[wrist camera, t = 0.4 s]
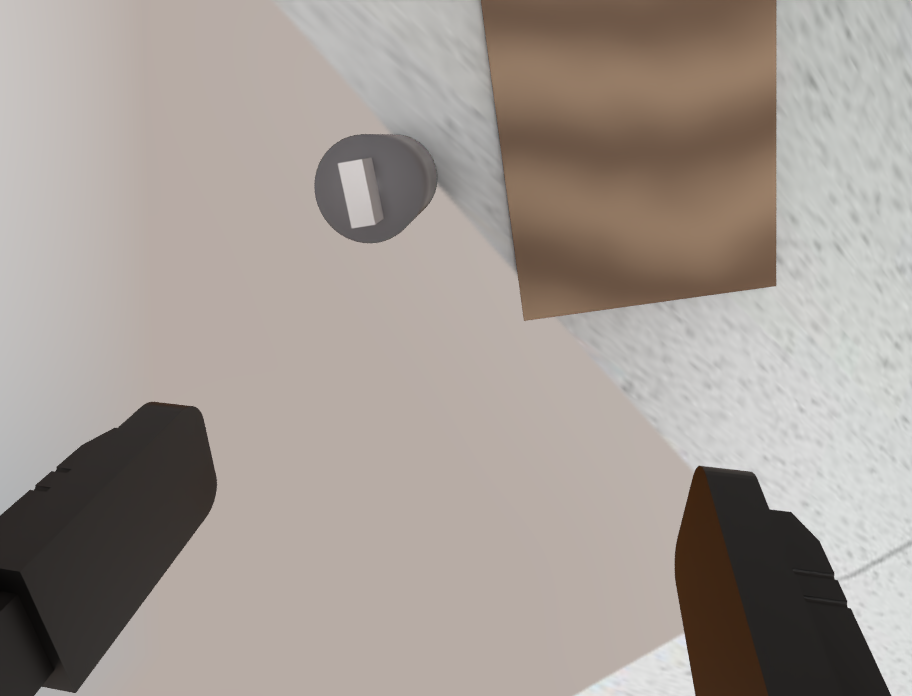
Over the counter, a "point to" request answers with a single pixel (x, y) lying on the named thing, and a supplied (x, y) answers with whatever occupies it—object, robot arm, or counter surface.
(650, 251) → the walnut board
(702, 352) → the counter surface
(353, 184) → the grey cylinder with tab
